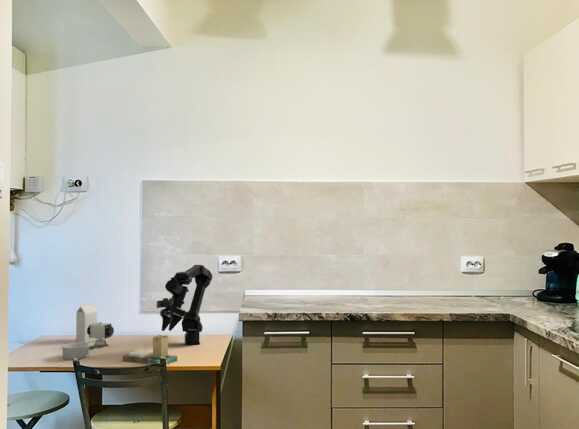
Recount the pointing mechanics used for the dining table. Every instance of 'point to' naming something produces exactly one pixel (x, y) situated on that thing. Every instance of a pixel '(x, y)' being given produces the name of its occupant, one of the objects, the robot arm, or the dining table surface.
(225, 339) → the dining table surface
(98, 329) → the pneumatic valve
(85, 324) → the milk carton
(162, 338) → the brass clip
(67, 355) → the saucepan
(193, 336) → the robot arm
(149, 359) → the divided tray
